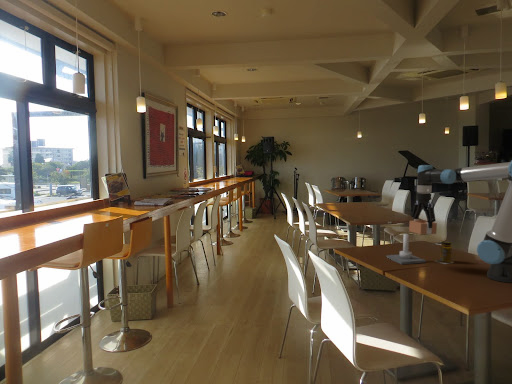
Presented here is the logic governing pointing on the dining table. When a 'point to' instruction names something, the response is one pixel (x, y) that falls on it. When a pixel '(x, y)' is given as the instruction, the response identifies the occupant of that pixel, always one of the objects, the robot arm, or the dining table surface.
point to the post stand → (405, 254)
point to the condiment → (445, 253)
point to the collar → (421, 227)
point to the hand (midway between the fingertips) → (422, 231)
